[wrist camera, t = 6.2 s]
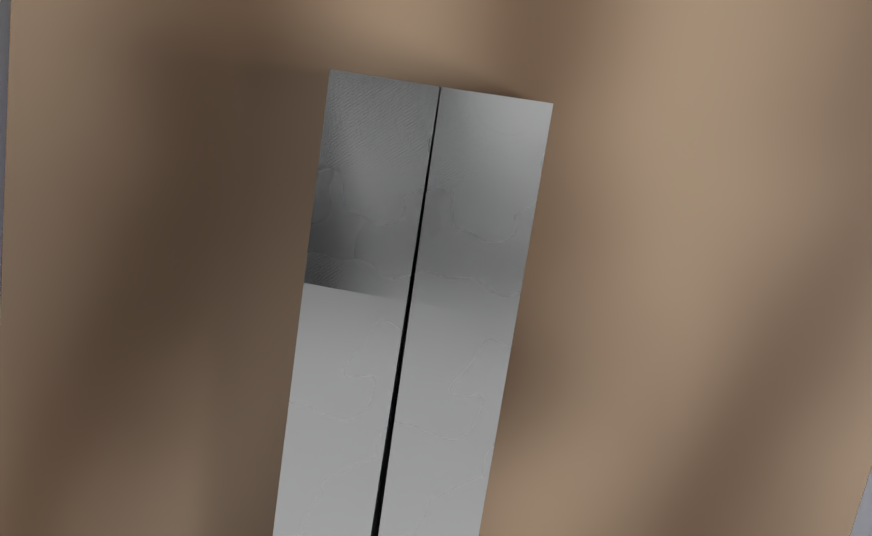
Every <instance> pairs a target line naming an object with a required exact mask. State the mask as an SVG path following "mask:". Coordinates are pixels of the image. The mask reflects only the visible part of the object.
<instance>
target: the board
mask: <svg viewBox="0 0 872 536" xmlns="http://www.w3.org/2000/svg"><path fill="white" fill-rule="evenodd" d="M330 69H333V70H340V71H346V72H352V73H359V74H365V75H372V76H378V77H384V78H390V79H396V80H403V81H409V82H415V83H421V84H427V85H434V86H440V87H446V88H452V89H459V90H465V91H472V92H479V93H486V94H493V95H500V96H506V97H513V98H520V99H527V100H534V101H540V102H547V103H553V109H552V115H551V120H550V126H549V132H548V138H547V143H546V149H545V155H544V161H543V167H542V172H541V178H540V184H539V190H538V195H537V201H536V207H535V213H534V219H533V224H532V230H531V236H530V242H529V247H528V253H527V259H526V265H525V271H524V276H523V282H522V288H521V294H520V300H519V305H518V311H517V317H516V323H515V328H514V334H513V340H512V346H511V352H510V357H509V363H508V369H507V375H506V380H505V386H504V392H503V398H502V404H501V409H500V415H499V421H498V427H497V432H496V438H495V444H494V450H493V456H492V461H491V467H490V473H489V479H488V484H487V490H486V496H485V502H484V508H483V513H482V519H481V525H480V531H479V536H850V534H851V531H852V528H853V525H854V522H855V518H856V515H857V512H858V509H859V506H860V502H861V499H862V496H863V493H864V490H865V486H866V483H867V480H868V477H869V473H870V470H871V467H872V0H11V11H10V40H9V69H8V97H7V126H6V155H5V184H4V213H3V242H2V271H1V300H0V536H273V529H274V521H275V513H276V505H277V496H278V488H279V480H280V472H281V464H282V456H283V447H284V439H285V431H286V423H287V415H288V407H289V398H290V390H291V382H292V374H293V366H294V358H295V350H296V341H297V333H298V325H299V317H300V309H301V301H302V292H303V284H304V276H305V268H306V260H307V252H308V244H309V235H310V227H311V219H312V211H313V203H314V195H315V186H316V178H317V170H318V162H319V154H320V146H321V138H322V129H323V121H324V113H325V105H326V97H327V89H328V80H329V72H330Z"/></svg>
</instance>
